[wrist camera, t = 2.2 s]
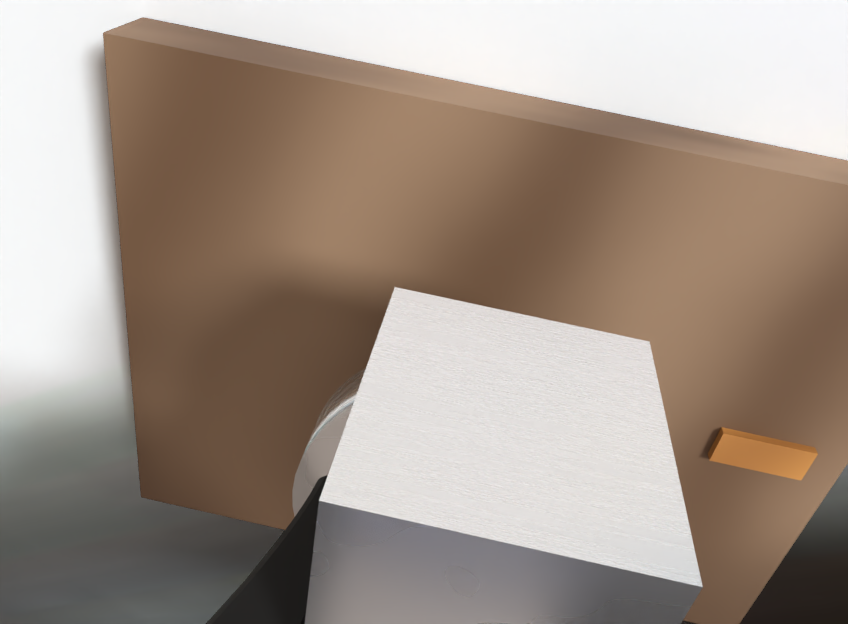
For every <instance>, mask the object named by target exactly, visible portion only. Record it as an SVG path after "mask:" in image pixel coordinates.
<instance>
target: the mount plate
mask: <svg viewBox="0 0 848 624" xmlns="http://www.w3.org/2000/svg"><path fill="white" fill-rule="evenodd" d="M103 38H104V50H105V62H106V75H107V87H108V99H109V111H110V123H111V136H112V148H113V160H114V172H115V185H116V197H117V209H118V221H119V234H120V246H121V258H122V270H123V283H124V295H125V307H126V319H127V332H128V344H129V356H130V368H131V381H132V393H133V405H134V417H135V430H136V442H137V454H138V466H139V479H140V491H141V497H142V498H147V499H151V500H156V501H160V502H164V503H169V504H173V505H178V506H182V507H186V508H191V509H195V510H200V511H204V512H208V513H213V514H217V515H222V516H226V517H230V518H235V519H239V520H244V521H248V522H252V523H257V524H261V525H266V526H270V527H274V528H279V529H283V530H286V528H287V527H288V525H289V524H290V523H291V521H292V520H293V519H294V517H295V516H294V511H293V499H292V490H293V485H294V479H295V474H296V472H297V469H298V467H299V464H300V461H301V459H302V456H303V454H304V451H305V449H306V447H307V444H308V442H309V439H310V437H311V434H312V432H313V430H314V427H315V425H316V422H317V420H318V417H319V415H320V413H321V411H322V410H323V408H324V406H325V405H326V403H327V401H328V400H329V399H330V398H331V396H332V395H333V394H334V393H335V392H336V391H337V389H338V388H339V387H340V386H341V385H343V384H344V383H345V382H346V381H347V380H349V379H350V378H351V377H352V376H353V375H355V374H357V373H358V372H360V371H361V370H363V369H365V368H366V367H367V364H368V361H369V358H370V355H371V353H372V350H373V347H374V344H375V341H376V339H377V336H378V333H379V330H380V327H381V324H382V322H383V319H384V316H385V313H386V310H387V308H388V305H389V302H390V299H391V296H392V293H393V291H394V288H395V287H397V288H402V289H407V290H411V291H416V292H421V293H425V294H430V295H435V296H439V297H444V298H449V299H453V300H458V301H463V302H467V303H472V304H477V305H481V306H486V307H491V308H495V309H500V310H505V311H509V312H514V313H519V314H523V315H528V316H533V317H537V318H542V319H547V320H551V321H556V322H561V323H565V324H570V325H575V326H579V327H584V328H589V329H593V330H598V331H603V332H607V333H612V334H617V335H621V336H626V337H631V338H635V339H640V340H645V341H649V342H650V346H651V351H652V355H653V360H654V365H655V369H656V374H657V378H658V383H659V388H660V392H661V397H662V401H663V406H664V411H665V415H666V420H667V425H668V429H669V434H670V438H671V443H672V448H673V452H674V457H675V461H676V466H677V471H678V475H679V480H680V484H681V489H682V494H683V498H684V503H685V508H686V512H687V517H688V521H689V526H690V531H691V535H692V540H693V544H694V549H695V554H696V558H697V563H698V567H699V572H700V577H701V581H702V586H703V588H702V589H701V591H700V593H699V594H698V596H697V598H696V599H695V601H694V603H693V604H692V606H691V608H690V609H689V611H688V613H687V614H686V616H685V618H684V619H683V620H684V621H688V622H693V623H697V624H740V622H741V621H742V619H743V618H744V616H745V615H746V613H747V612H748V610H749V609H750V607H751V606H752V604H753V603H754V601H755V600H756V598H757V597H758V595H759V594H760V592H761V591H762V590H763V588H764V587H765V585H766V584H767V582H768V581H769V579H770V578H771V576H772V575H773V573H774V572H775V570H776V569H777V567H778V566H779V564H780V563H781V561H782V560H783V558H784V557H785V555H786V554H787V552H788V551H789V549H790V548H791V547H792V545H793V544H794V542H795V541H796V539H797V538H798V536H799V535H800V533H801V532H802V530H803V529H804V527H805V526H806V524H807V523H808V521H809V520H810V518H811V517H812V515H813V514H814V512H815V511H816V509H817V508H818V507H819V505H820V504H821V502H822V501H823V499H824V498H825V496H826V495H827V493H828V492H829V490H830V489H831V487H832V486H833V484H834V483H835V481H836V480H837V478H838V477H839V475H840V474H841V472H842V471H843V469H844V468H845V466H846V465H847V464H848V161H847V160H842V159H837V158H832V157H827V156H822V155H817V154H812V153H807V152H802V151H797V150H792V149H788V148H783V147H778V146H773V145H768V144H763V143H758V142H753V141H748V140H743V139H738V138H733V137H729V136H724V135H719V134H714V133H709V132H704V131H699V130H694V129H689V128H684V127H679V126H674V125H670V124H665V123H660V122H655V121H650V120H645V119H640V118H635V117H630V116H625V115H620V114H615V113H611V112H606V111H601V110H596V109H591V108H586V107H581V106H576V105H571V104H566V103H561V102H557V101H552V100H547V99H542V98H537V97H532V96H527V95H522V94H517V93H512V92H507V91H502V90H498V89H493V88H488V87H483V86H478V85H473V84H468V83H463V82H458V81H453V80H448V79H443V78H439V77H434V76H429V75H424V74H419V73H414V72H409V71H404V70H399V69H394V68H389V67H384V66H380V65H375V64H370V63H365V62H360V61H355V60H350V59H345V58H340V57H335V56H330V55H325V54H321V53H316V52H311V51H306V50H301V49H296V48H291V47H286V46H281V45H276V44H271V43H267V42H262V41H257V40H252V39H247V38H242V37H237V36H232V35H227V34H222V33H217V32H212V31H208V30H203V29H198V28H193V27H188V26H183V25H178V24H173V23H168V22H163V21H158V20H153V19H149V18H144V17H143V18H140V19H137V20H135V21H132V22H130V23H127V24H124V25H122V26H119V27H117V28H114V29H111V30H109V31H106V32H104V33H103Z"/></svg>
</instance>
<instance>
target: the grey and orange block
mask: <svg viewBox="0 0 848 624" xmlns="http://www.w3.org/2000/svg"><path fill="white" fill-rule="evenodd" d="M326 475H327V479H326V482H325V485H324V488H323V491H322V493H321V496H320V499H319V504H318V513H317V521H316V530H315V539H314V547H313V556H312V565H311V573H310V582H309V591H308V599H307V608H306V617H305V624H681V623H682V621H683V619H684V618H685V616H686V614H687V613H688V611H689V609H690V608H691V606H692V604H693V603H694V601H695V599H696V598H697V596H698V594H699V593H700V591H701V589H702V588H703V586H702V581H701V577H700V572H699V567H698V563H697V558H696V554H695V549H694V544H693V540H692V535H691V531H690V526H689V521H688V517H687V512H686V508H685V503H684V498H683V494H682V489H681V484H680V480H679V475H678V471H677V466H676V461H675V457H674V452H673V448H672V443H671V438H670V434H669V429H668V425H667V420H666V415H665V411H664V406H663V401H662V397H661V392H660V388H659V383H658V378H657V374H656V369H655V365H654V360H653V355H652V351H651V346H650V342H649V341H645V340H640V339H635V338H631V337H626V336H621V335H617V334H612V333H607V332H603V331H598V330H593V329H589V328H584V327H579V326H575V325H570V324H565V323H561V322H556V321H551V320H547V319H542V318H537V317H533V316H528V315H523V314H519V313H514V312H509V311H505V310H500V309H495V308H491V307H486V306H481V305H477V304H472V303H467V302H463V301H458V300H453V299H449V298H444V297H439V296H435V295H430V294H425V293H421V292H416V291H411V290H407V289H402V288H397V287H395V288H394V291H393V293H392V296H391V299H390V302H389V305H388V308H387V310H386V313H385V316H384V319H383V322H382V324H381V327H380V330H379V333H378V336H377V339H376V341H375V344H374V347H373V350H372V353H371V355H370V358H369V361H368V364H367V367H366V368H365V369H363V370H361V371H360V372H358V373H357V374H355V375H353V376H352V377H351V378H350V379H349V380H347V381H346V382H345V383H344V384H343V385H341V386H340V387H339V388H338V389H337V391H336V392H335V393H334V394H333V395H332V396H331V398H330V399H329V400H328V401H327V403H326V405H325V406H324V408H323V410H322V411H321V413H320V415H319V417H318V420H317V422H316V425H315V427H314V430H313V432H312V434H311V437H310V439H309V442H308V444H307V447H306V449H305V451H304V454H303V456H302V459H301V461H300V464H299V467H298V469H297V472H296V474H295V479H294V485H293V490H292V499H293V511H294V516H296V514H297V513H298V511H299V510H300V508H301V507H302V506H303V504H304V502H305V501H306V499H307V498H308V496H309V495H310V493H311V491H312V490H313V488H314V486H315V484H316V483H317V481H318V479H319V478H321V477H323V476H326Z"/></svg>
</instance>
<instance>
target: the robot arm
mask: <svg viewBox="0 0 848 624" xmlns="http://www.w3.org/2000/svg"><path fill="white" fill-rule="evenodd" d="M326 479H327V475H326V476H323V477H321V478H319V479H318V481H317V483H316V484H315V486H314V488H313V490H312V491H311V493H310V495H309V496H308V498H307V499H306V501H305V502H304V504H303V506H302V507H301V508H300V510H299V511H298V513H297V514H296V516H295V517H294V519H293V520H292V521H291V523H290V524H289V525H288V527H287V528H286V530H285V531H284V532H283V534H282V535H281V536H280V538H279V539H278V540H277V542H276V543H275V544H274V545H273V547H272V548H271V549H270V550H269V552H268V553H267V554H266V555H265V557H264V558H263V559H262V560H261V561H260V563H259V564H258V565H257V566H256V568H255V569H254V570H253V571H252V573H251V574H250V575H249V576H248V577H247V579H246V580H245V581H244V582H243V583H242V584H241V585H240V587H239V588H238V589H237V590H236V591H235V592H234V593H233V594H232V595H231V597H230V598H229V599H228V600H227V601H226V602H225V603H224V604H223V605H222V606H221V608H220V609H219V610H218V611H217V612H216V613H215V614H214V615H213V616H212V618H211V619H210V620H209V621H208V622H207V623H206V624H305V617H306V608H307V599H308V591H309V582H310V573H311V565H312V556H313V547H314V539H315V530H316V521H317V513H318V504H319V499H320V496H321V493H322V491H323V488H324V485H325V482H326Z"/></svg>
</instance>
